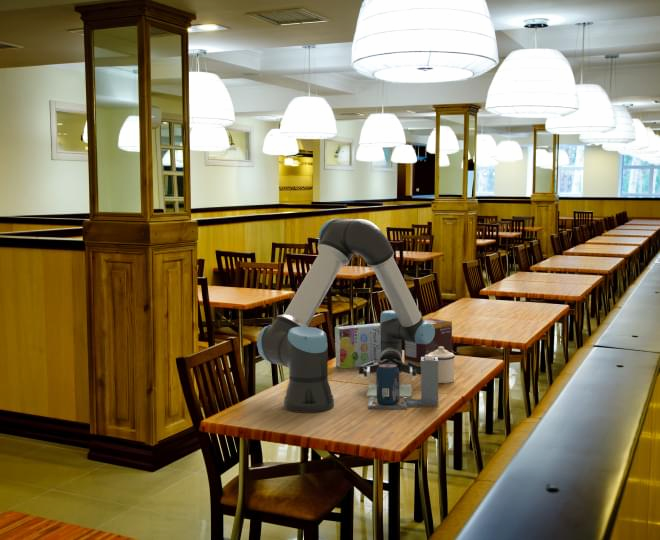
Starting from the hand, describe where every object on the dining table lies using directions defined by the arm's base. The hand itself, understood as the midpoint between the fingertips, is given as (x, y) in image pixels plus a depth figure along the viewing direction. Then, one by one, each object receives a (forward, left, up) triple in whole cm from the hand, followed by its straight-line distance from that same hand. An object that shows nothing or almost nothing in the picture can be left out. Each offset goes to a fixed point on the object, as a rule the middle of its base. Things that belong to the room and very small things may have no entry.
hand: (389, 376), depth 239 cm
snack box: (+28, +34, -7) cm, 44 cm away
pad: (+4, +3, -6) cm, 8 cm away
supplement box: (+46, +18, -7) cm, 50 cm away
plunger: (0, -15, +3) cm, 15 cm away
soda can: (-7, -5, -7) cm, 11 cm away
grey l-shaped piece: (-5, -9, -6) cm, 12 cm away
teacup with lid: (+26, 0, -7) cm, 27 cm away
